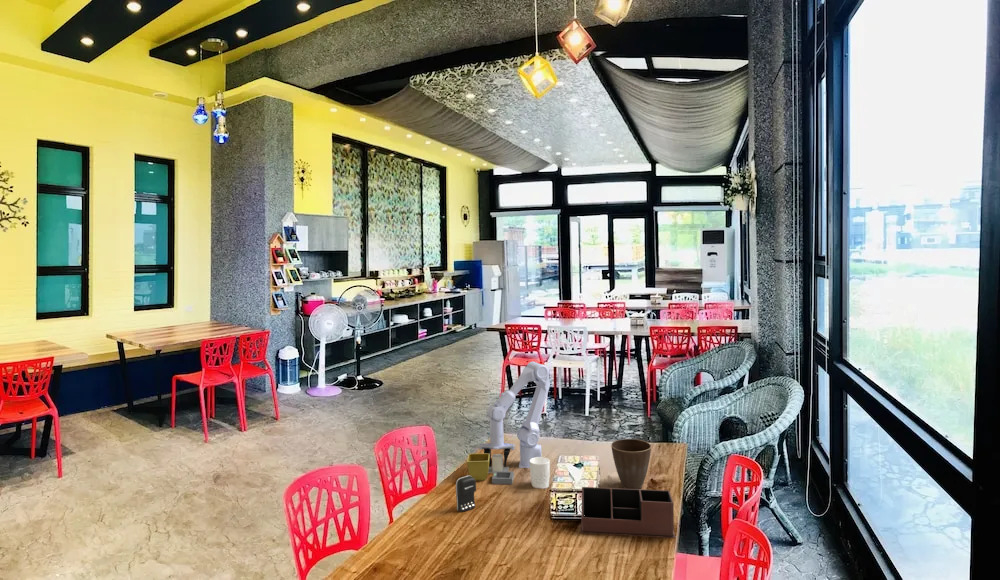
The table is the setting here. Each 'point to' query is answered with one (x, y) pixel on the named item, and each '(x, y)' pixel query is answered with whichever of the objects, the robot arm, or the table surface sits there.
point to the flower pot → (478, 466)
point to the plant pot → (631, 461)
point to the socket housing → (503, 477)
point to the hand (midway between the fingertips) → (497, 466)
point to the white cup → (540, 472)
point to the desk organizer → (627, 512)
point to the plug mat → (502, 470)
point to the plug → (497, 462)
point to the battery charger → (465, 493)
